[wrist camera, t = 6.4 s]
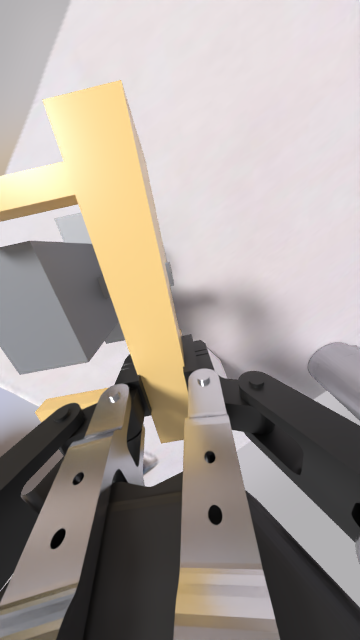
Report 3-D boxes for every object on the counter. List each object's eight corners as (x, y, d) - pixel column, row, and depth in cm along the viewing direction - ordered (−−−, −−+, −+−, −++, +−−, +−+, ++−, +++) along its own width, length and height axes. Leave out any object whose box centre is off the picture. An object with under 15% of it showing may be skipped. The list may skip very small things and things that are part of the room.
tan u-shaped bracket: (144, 158, 8) (120, 79, 5) (192, 385, 13) (200, 436, 10) (-71, 208, 9) (-253, 173, 5) (53, 410, 14) (8, 469, 10)
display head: (161, 211, 25) (139, 148, 9) (181, 309, 31) (188, 374, 15) (69, 231, 25) (-99, 205, 10) (106, 323, 31) (37, 400, 16)
